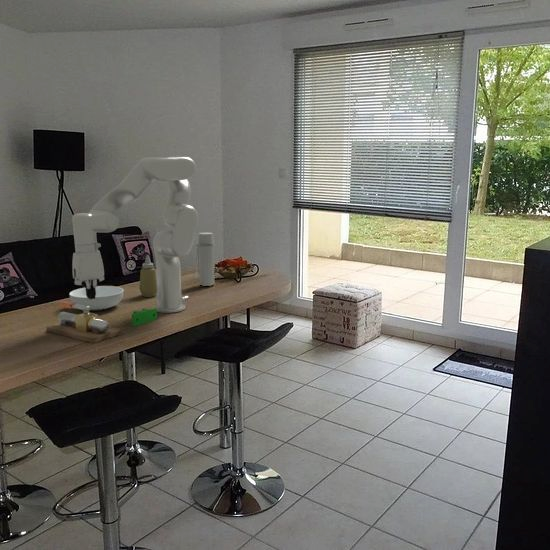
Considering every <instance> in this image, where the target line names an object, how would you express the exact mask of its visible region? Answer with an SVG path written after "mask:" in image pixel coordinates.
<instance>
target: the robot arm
mask: <svg viewBox="0 0 550 550" xmlns="http://www.w3.org/2000/svg"><path fill="white" fill-rule="evenodd" d="M196 172H197V165H196V163H195V161H194V160H193V159H192V158H190V157H188V156H168V157H143V158H141V159H140V160H138V162H137V163H136V164H135V166H134V167H133V168H132V169H131V170H130V171H129V173H127V175H126V176H125V177H124V178H123V180H122V181H121V182H120V183H119V184H118V185H117V186H115V187H114V188H112V189H111V190H110V191H108V192H107V193H106V194H105V195H103V196H102V197H101V198H100V199H98V201H97V202H96V203H95V204H94V206H93V207H92V208H91V209H90V210H89V212H80V213H79V212H78V213H75V214H73V215H72V219H71V221H72V231H73V238H74V241H73V242H74V249H75V252H73V254H72V262H71V263H72V278H73V279H74V285H76V286H82V287H83V288H86V296H87V297H88V298H89V299H95V296H96V289H95V288H96V287H97V286H98V284H99V283H100V282H102V281H104V280H105V269H104V263H103V259H102V255H101V252H100V250H99V248H101V246H102V244H101V243H100V242H99V241H97V240H98V239H97V233H112V232H114V231H116V230H117V229H118V227H119V226H120V218H119V217H118V215H117V214H116V212H117V211H118V210H119V209H121V208H123V207H125V206H127V205H130V204H133V203H135V202H136V201H139V199H140V198H141V196H143V194H145V191H146V190H147V189H148V188H149V187H150V186H151V185H152V184H153V182H154V181H155V182H157V181H158V182H167V184H168V194H167V195H168V196H167V198H166V199H167V200H166V203H165V207H164V211H163V214H162V215H163V216H162V221H163V223H164V224H165V225H166V226H167V227H169V228H173V230H168V229H164V230H163V229H162V230H160V231H158V232H157V233H156V234H155V235H154V237H153V240H152V248H153V252H154V258H155V269H156V278H157V293H156V299H157V300H156V301H157V303H156V304H155V305H154V306H153V308H157V313H163V314H166V313H167V314H169V313H179V312H182V311H185V310H186V305H185V304H184V302H186V301H189V300H190V297H189V296H188V295H185V296H184V295H183V296H182V274H181V273H182V272H181V260H180V258H184V257H186V256H187V255H188V254H189V253H190V252H191V250H192V247H193V245H194V240H195V237H196V232H197V229H198V225H199V214H198V211H197V210H196V209H195V207H193V206H192V205H190V200H191V195H192V188H191V183H190V181H189V179H191V178H193V177H194V176H195V174H196ZM98 242H99V243H98Z"/></svg>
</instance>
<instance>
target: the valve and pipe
mask: <svg viewBox="0 0 550 550" xmlns="http://www.w3.org/2000/svg"><path fill="white" fill-rule="evenodd" d="M57 320H58V321H59V322H60V323H61V326H65V327H66V326H70V325H76V330H79V331H83V332H89V331H92V333H94V334H99V333H102V332H106V331H107V330H108V329H109V327H110V323H109V321H107V320H103V319H99V315H98V314H97V313H93V312H89V314H88V315H84V312H82V313H79V314H76V313H71V312H66V311H60V312H59V313H58V316H57Z"/></svg>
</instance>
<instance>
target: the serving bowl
mask: <svg viewBox="0 0 550 550" xmlns="http://www.w3.org/2000/svg"><path fill="white" fill-rule="evenodd" d="M95 289H96V296H95V299H89V298H88V297H87V296H86V288H85V287H82V288H81V287H80V288H77V289H73V290H72V291H70V292H69V294H68V295H69V299H70V302H75V303H76V304H79V305H84V306H85V305H89V306H90V310H89V311H103V309H104V310H107V309H110V308H112V307H115V306H116V305H118V304H119V303H120V302H121V300H122V299H123V297H124V291H125V290H124V288H123V287H120V286H115V285H114V286H113V285H97V287H96V288H95Z"/></svg>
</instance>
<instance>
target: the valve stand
mask: <svg viewBox="0 0 550 550" xmlns="http://www.w3.org/2000/svg"><path fill="white" fill-rule="evenodd" d="M46 332H47V333H52V332H53V333H52V334H56V333H57V335H60V334H62V335H61V336H64V335H66V336H65V337H68V336H70V337H69V338H72V337H74V338H73V339H76V338H77V339H76V340H80V339H81V340H80V341H83V340H85V341H84V342H87V341H89V342H88V343H91V342H92V343H93V344H95V343H98V342H101V341H103V339H104V340H106V338H107V339H110V338H113V337H115V336H116V337H117V336H119V335H122V329H119V328H117V327H116V328H115V327H111V326H109V329H108V330H107V331H106V332H102V333H99V334H94V333H92V331H89V332H83V331H79V330H76V325H70V326H66V327H65V326H61V322H60V323H55V324H52V325H49V326H48V325H47V326H46ZM109 337H110V338H109ZM100 340H101V341H100ZM97 341H98V342H97ZM94 342H95V343H94Z"/></svg>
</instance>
